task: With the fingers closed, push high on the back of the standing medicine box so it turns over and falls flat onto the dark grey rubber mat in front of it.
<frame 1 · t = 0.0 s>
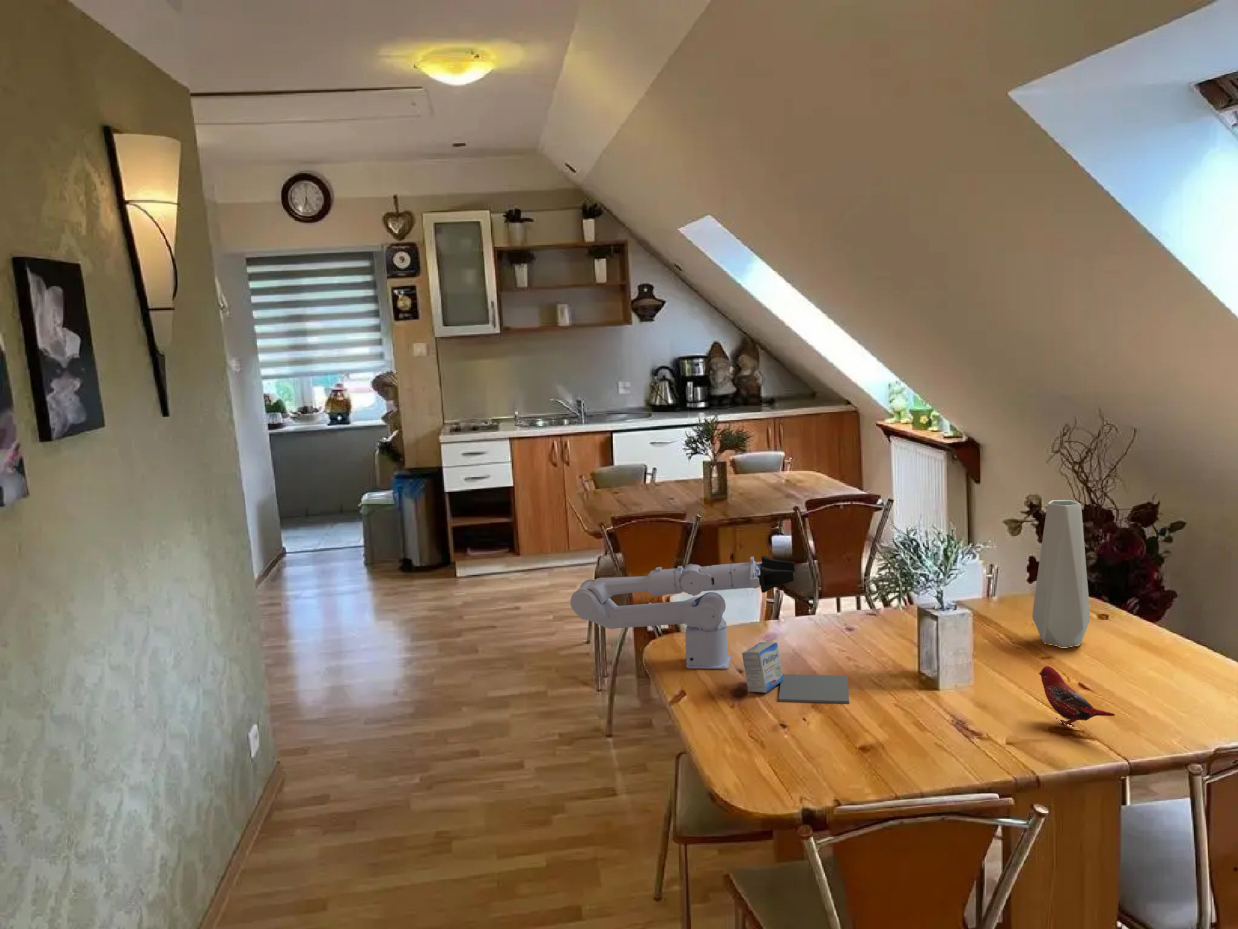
hand: (794, 571, 213), 22 cm above the table, tool horizontal, fingers open, 7 cm apart
mat: (814, 689, 202), on the table
medicine box: (766, 687, 204), on the table, touching mat
vase: (1058, 644, 221), on the table
decorative bird figurine: (1074, 730, 176), on the table
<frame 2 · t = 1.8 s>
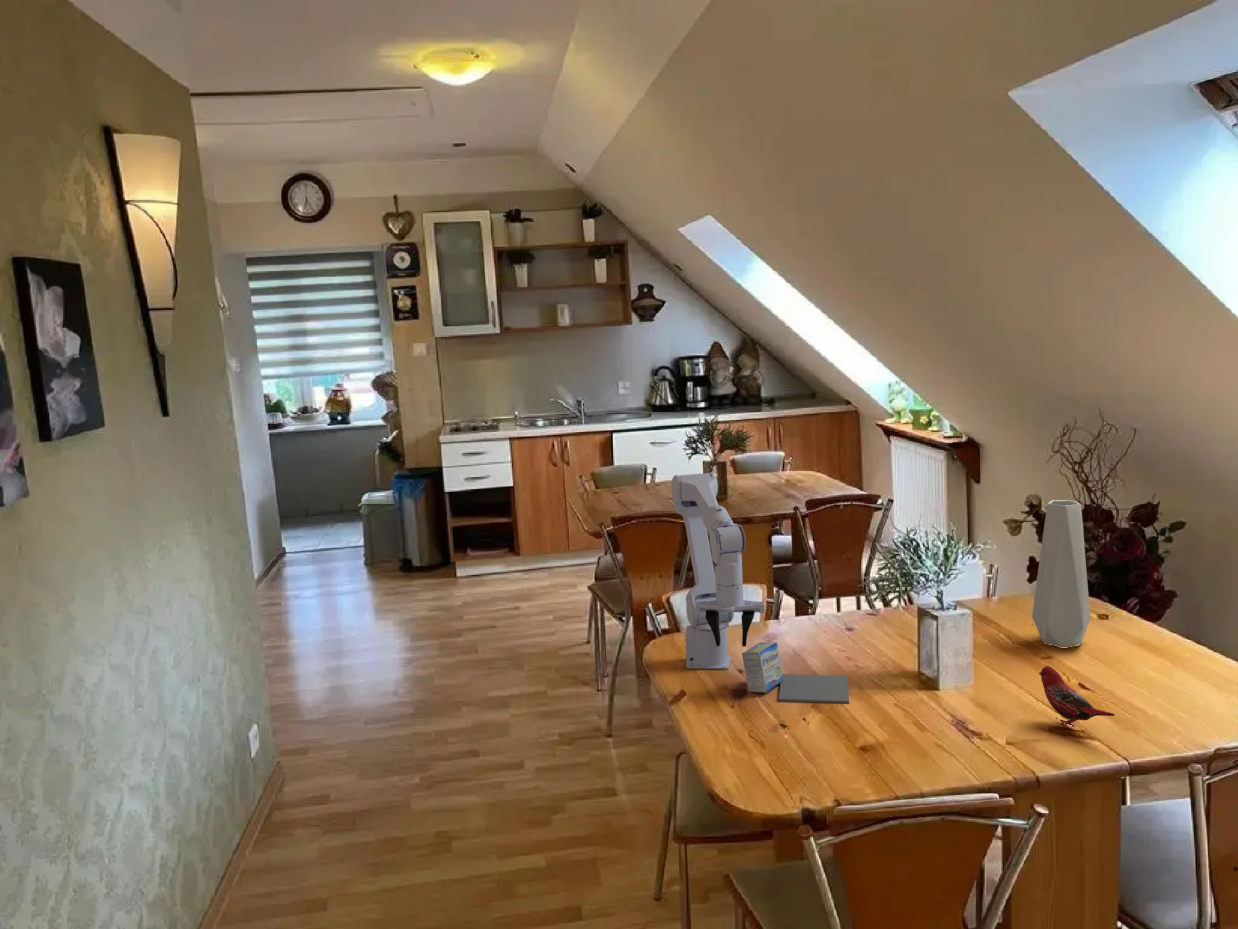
hand: (731, 644, 204), 9 cm above the table, tool pointing down, fingers open, 5 cm apart
nothing on the table moved.
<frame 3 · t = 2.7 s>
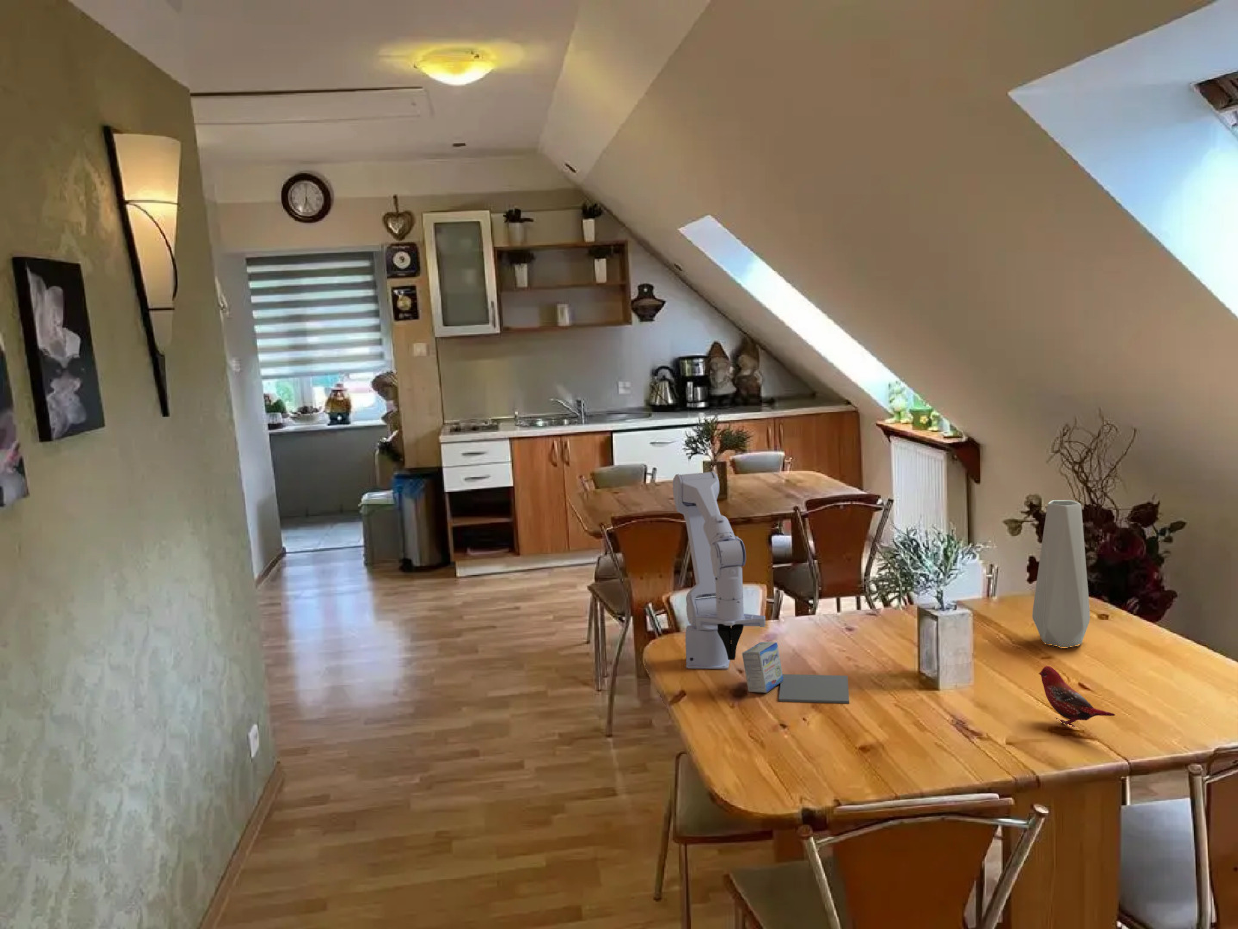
hand: (731, 658, 204), 6 cm above the table, tool pointing down, fingers closed
nothing on the table moved.
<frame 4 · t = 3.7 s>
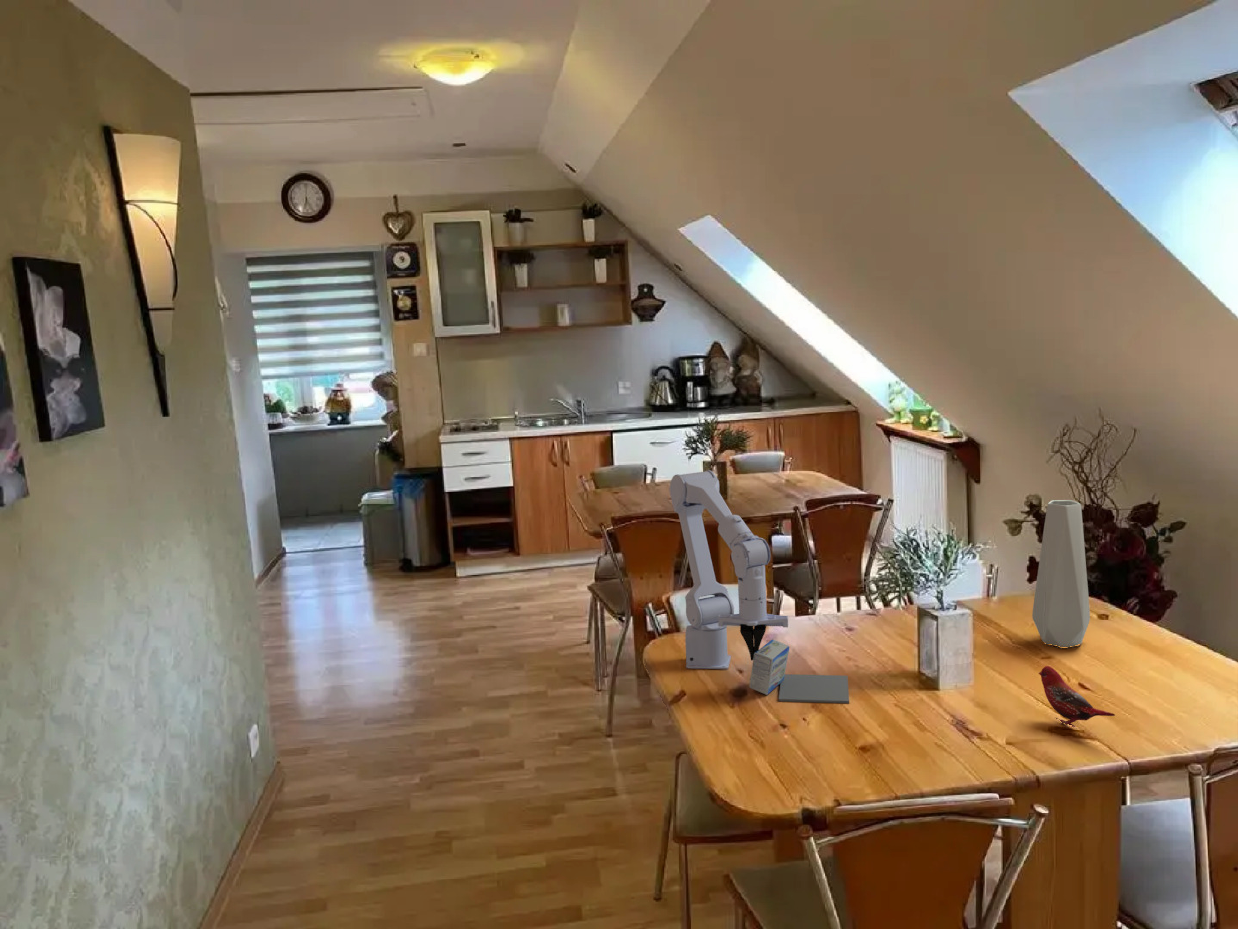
hand: (754, 658, 203), 6 cm above the table, tool pointing down, fingers closed
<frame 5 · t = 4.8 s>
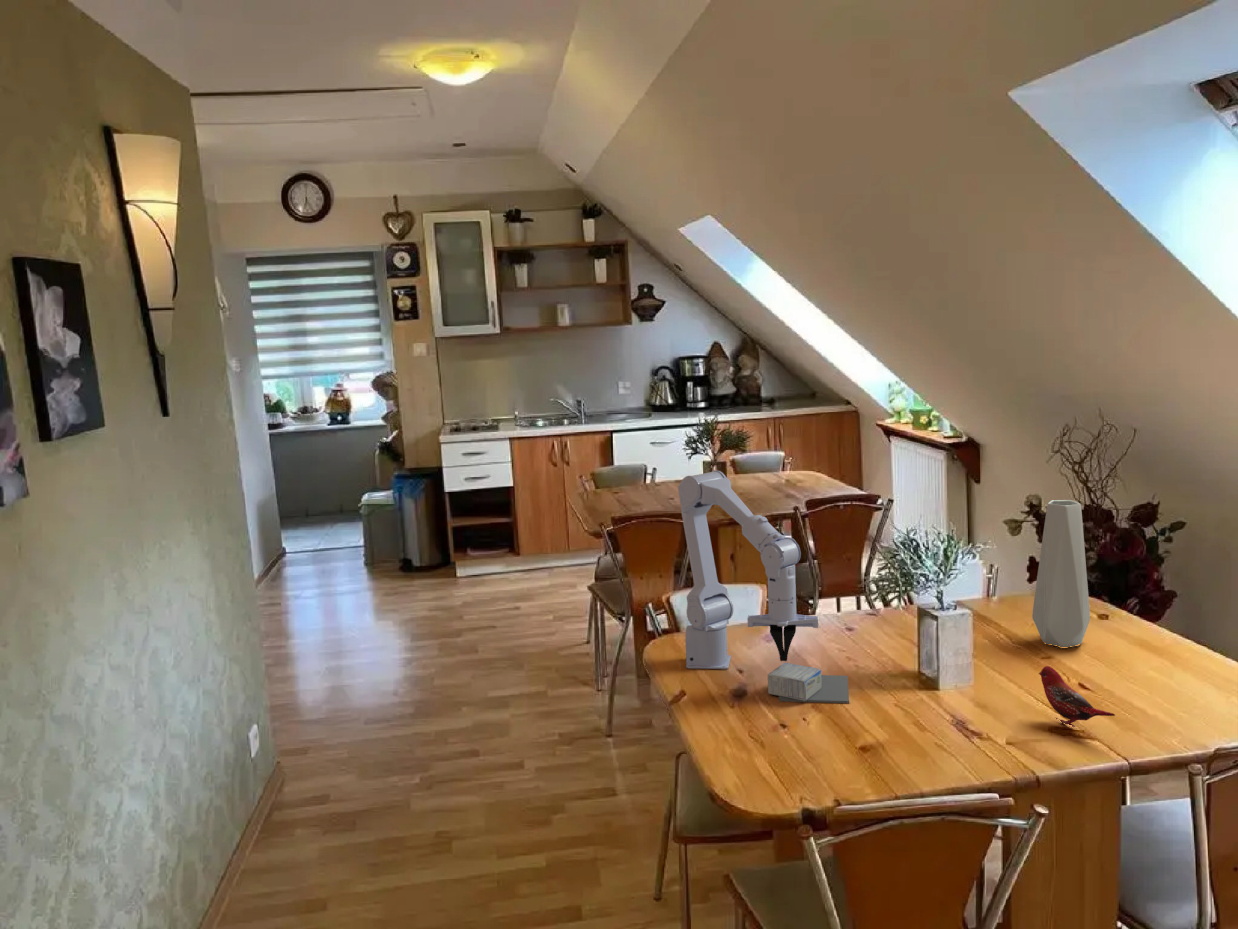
hand: (783, 659, 202), 6 cm above the table, tool pointing down, fingers closed
medicine box: (774, 677, 202), point 3 cm above the table, touching mat
everything else where it was.
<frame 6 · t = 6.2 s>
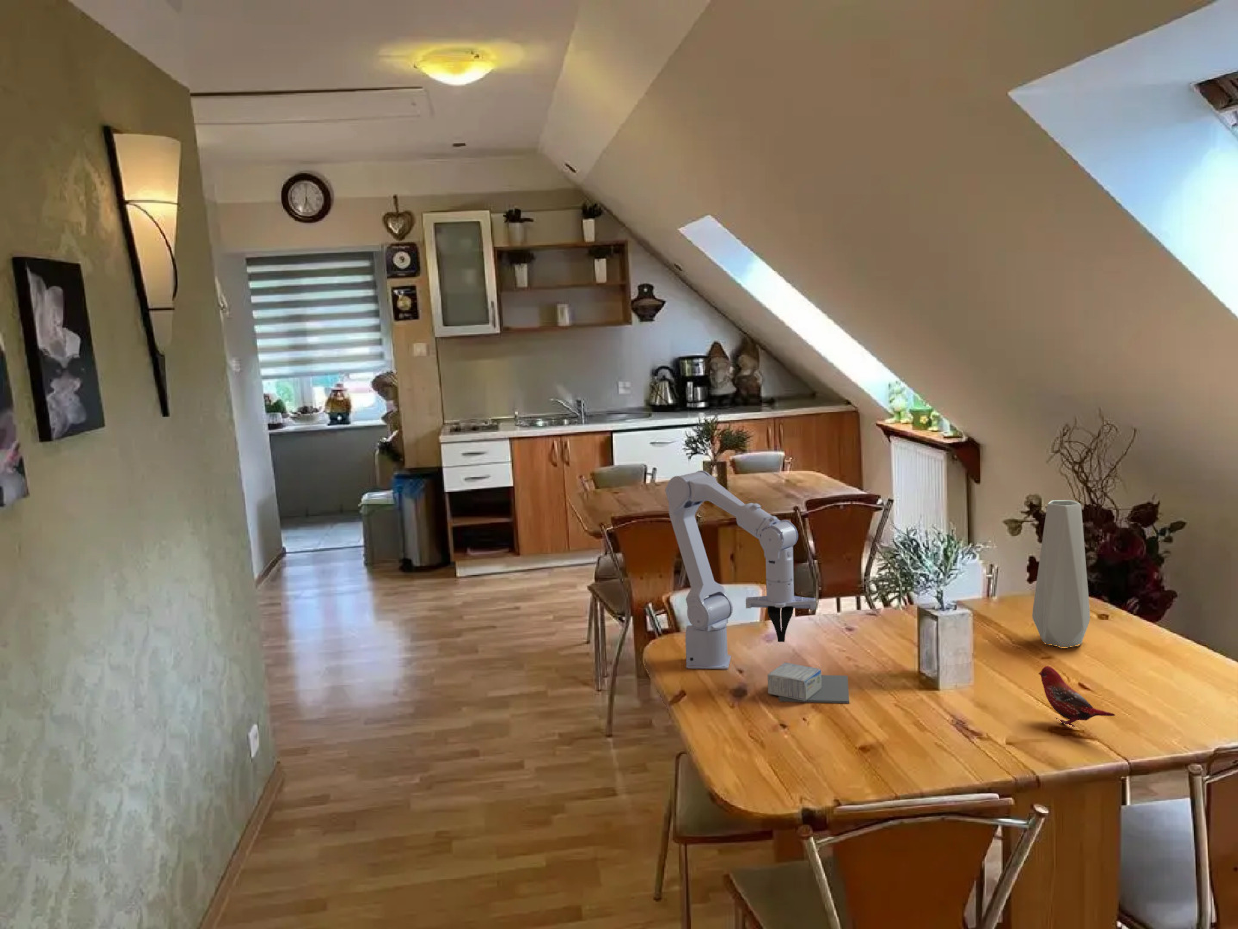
hand: (781, 640, 205), 9 cm above the table, tool pointing down, fingers closed
nothing on the table moved.
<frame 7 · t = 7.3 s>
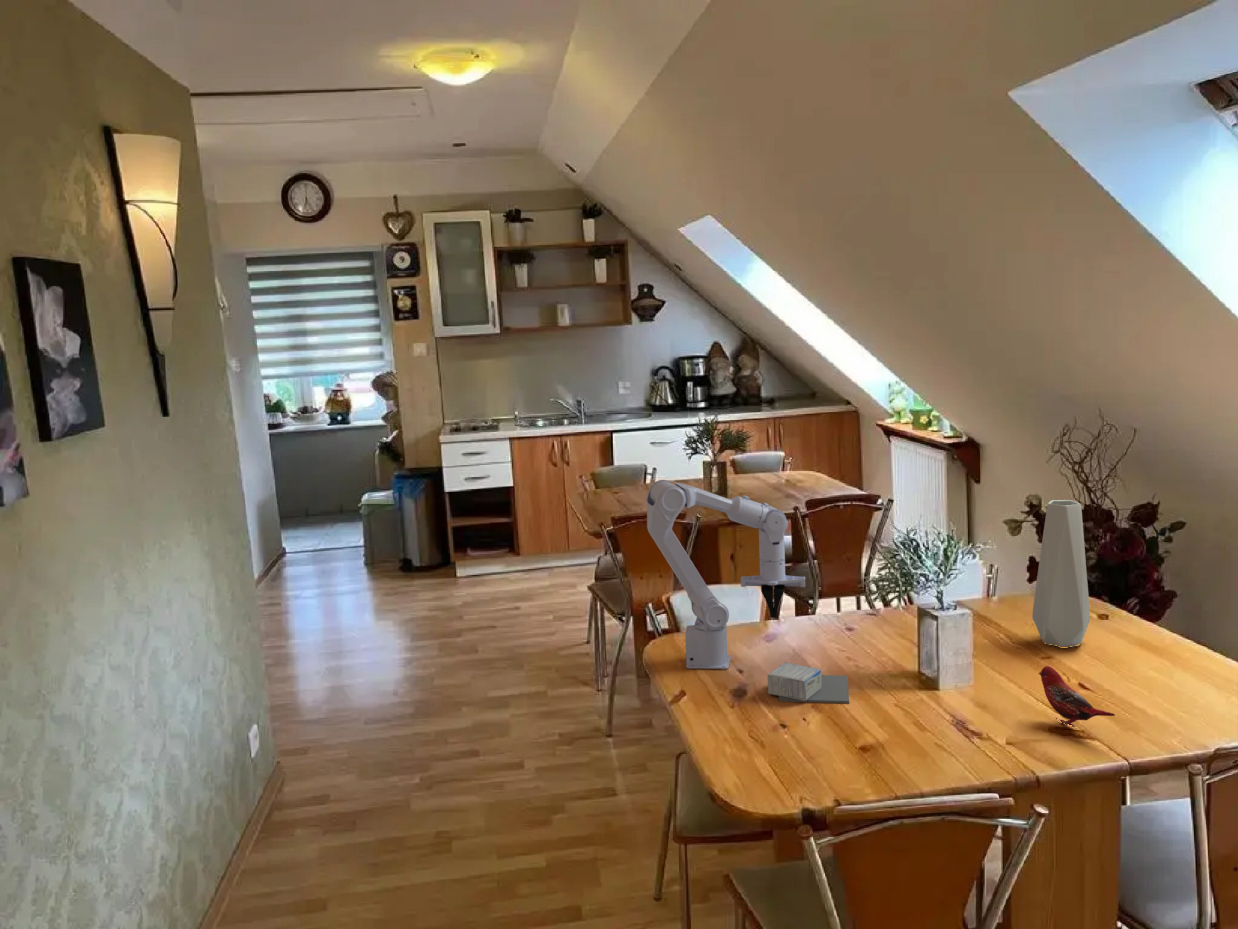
hand: (773, 616, 222), 9 cm above the table, tool pointing down, fingers closed
nothing on the table moved.
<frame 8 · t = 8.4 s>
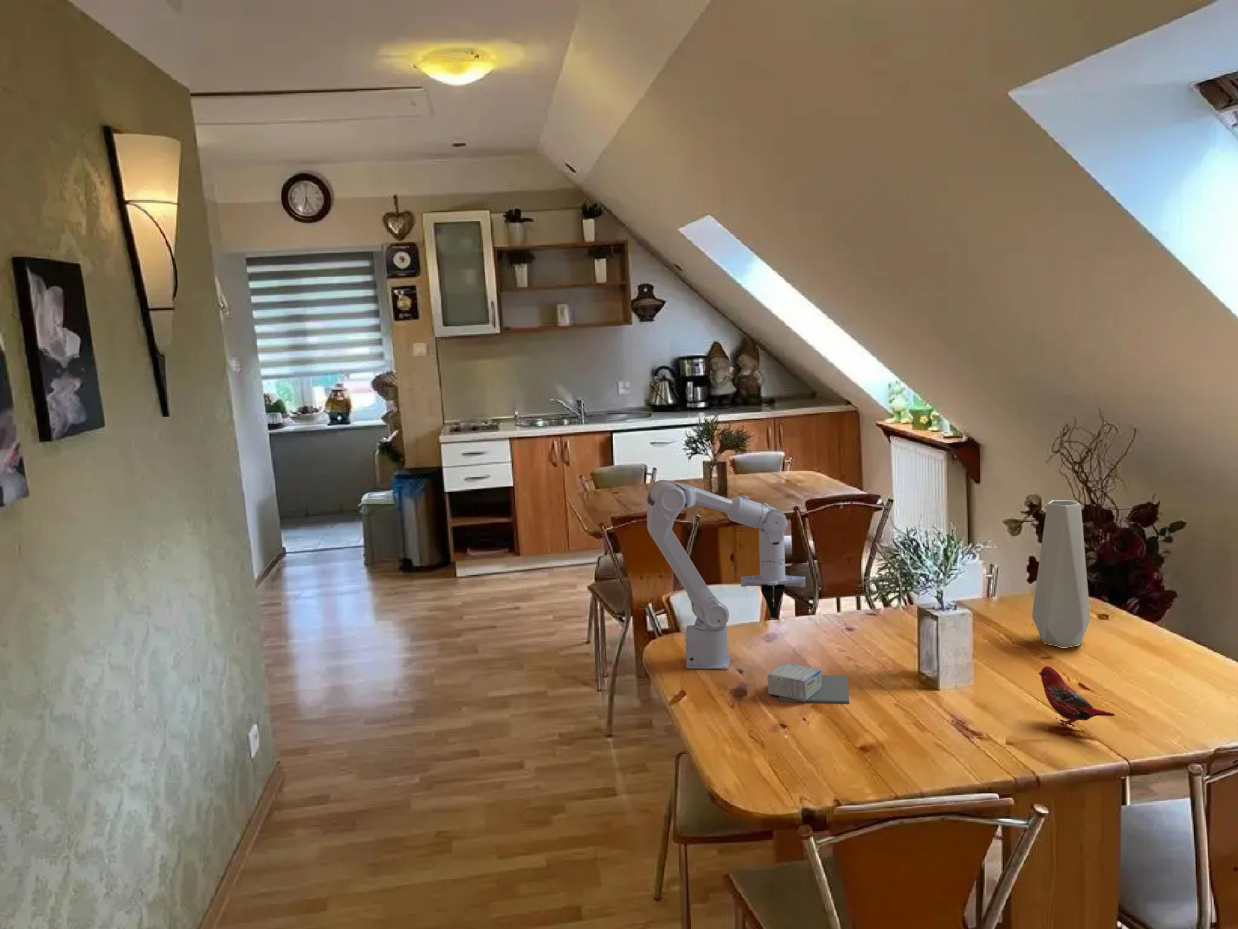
hand: (773, 616, 222), 9 cm above the table, tool pointing down, fingers closed
nothing on the table moved.
at the end: medicine box tilted 90°; medicine box touching mat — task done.
